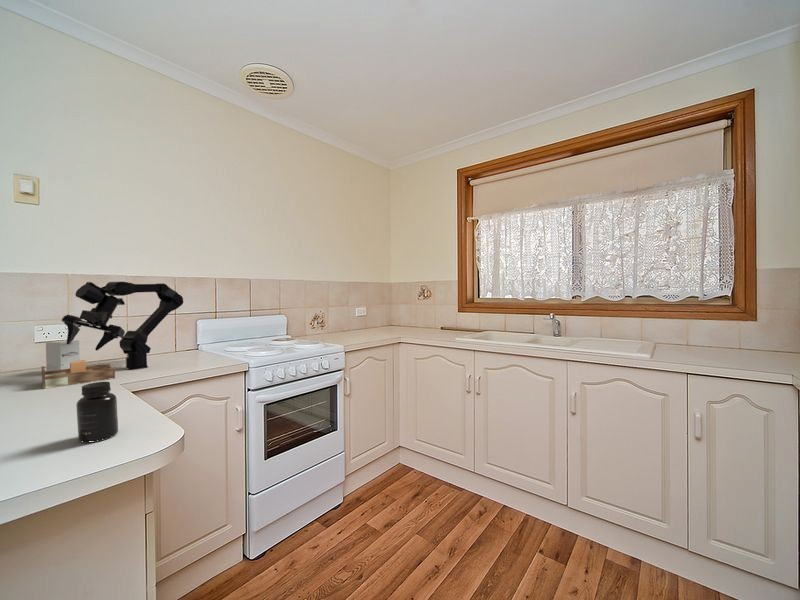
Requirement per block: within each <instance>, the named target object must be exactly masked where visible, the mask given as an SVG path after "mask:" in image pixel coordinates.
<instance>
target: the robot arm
mask: <svg viewBox="0 0 800 600" xmlns="http://www.w3.org/2000/svg"><path fill="white" fill-rule="evenodd" d="M136 293H137V294H138V293H156V295H157V298H158V299H159V300H160V301H159V304H158V306H157V308H156V310H154V311H153V312H152V313H151V315H149V316H148V318H146V319H145V321H144V322H143V323H142V324H141V325H140V326H139V327H138V328H137V329H135V330H128V331H125V329H123V328H122V327H121V326H120V325H114V324H111V323H110V324H109V325H107V324H108V322H109V320H110V319H112V318H113V313H114V312H115V310H116V309H117V306H125V305H126V304H125V301H124V299H123V298H122V297H123V296H129V295H132V294H136ZM119 296H121V298H120V297H119ZM75 297H76V298H79V299H80V300H83V301H85V302H86V303H89V304H92V305H95V304H96V306H95V307H92V308H91V309H90V310H84V309H82V311H81V313H80V316H79V317H78V316H76V315H72V314H65V315H63V317H62V319H61V320H60V321H62V322H63V323H64V325H66V327H67V337H66V340H67V344H68V345H69V344H70V343H71V342H72V340H75V337H76V336H77V335H78V333H79V332H80V330H81V328H80V327H86V328H91V329H94V330H100V331H103V335H102V336H101V339H99V342H98V343H97V345H96V347H95V351H99V350H100V349H102V347H104V346H105V345H107V344H108V343H110V342H111V341H113V340H114V339H118V338H120V340H119V347H120V349H121V350H122V352H123V353H124V354H125V355H126V356H127V357H125V368H127V369H128V370H131V371H132V370H138V369H146V368H149V365H148V359H147V357H148V356H147V354H150V352H151V349H152V348H151V347H150V346H149V345H147V342H148V338H149V335H150V334H151V333H152V332H153V331H154V330H155V329H156V327H158V326H159V325H160V323H161V322H162V321H163V320H164V319H165V318H166V317H167V316H168V315H169V313H171V312H173V311H175V310H177V309H179V308H180V307H181V306H182V305H183V304H184V297H183V296H182V295H181V294H179V293H178V292H177V291H176V290H174V289H172V288H171V287H169V285H167V283H163V282H161V283H160V282H159V283H132V282H127V281H109V282H107V284H106V285H103V286H102V287H100V286H98V285H96V284H95V283H94V282H92V281H86V282H85V284H83V285H81V286H80V287H79V288H78V289H77V290H76V292H75Z"/></svg>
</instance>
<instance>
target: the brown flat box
mask: <svg viewBox="0 0 800 600" xmlns="http://www.w3.org/2000/svg"><path fill="white" fill-rule="evenodd" d="M109 378H113V379H116V369H115V366H114V367H112V366H111V363H104V364H97V365H96V364H95V365H88V366H87V365H86V371H84V372H76V373H70V369H63V370H55V371H47V370H46V371H45V366H41V384H42V389H43V390H44V389H45V388H46V389H51V388H52V387H53V388H59V386H60V387H63V386H65V385H66V386H72V384H73V385H78V383H80V384H85V382H86V383H92V382H91V381H93V382H98V381H97V380H100V381H105V380H104V379H106V380H110V379H109ZM66 386H65V387H66Z"/></svg>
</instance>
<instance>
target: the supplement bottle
mask: <svg viewBox="0 0 800 600" xmlns="http://www.w3.org/2000/svg"><path fill="white" fill-rule="evenodd" d="M111 391H112V388H111V382H109V381H95V382H89V383H87V384H84V385H81V396H82V397H81V398H79V399H78V400H77V402H76V420H77V438H78V441H79V442H80V441H83V442H89V441H97V440H102V439H105V440H107V439H106V438H108V439H110V438H109V437H111V436H113V437H114V436H116V435H117V434H118V432H119V417H118V401H117V396H116V394H114V393H112V392H111ZM115 434H116V435H115ZM111 438H112V437H111ZM102 441H103V440H102Z"/></svg>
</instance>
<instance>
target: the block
mask: <svg viewBox="0 0 800 600" xmlns="http://www.w3.org/2000/svg"><path fill="white" fill-rule="evenodd" d="M86 367H87V363H86V360H80V361H74V362H70V373H76V372H84V371H86Z"/></svg>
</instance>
